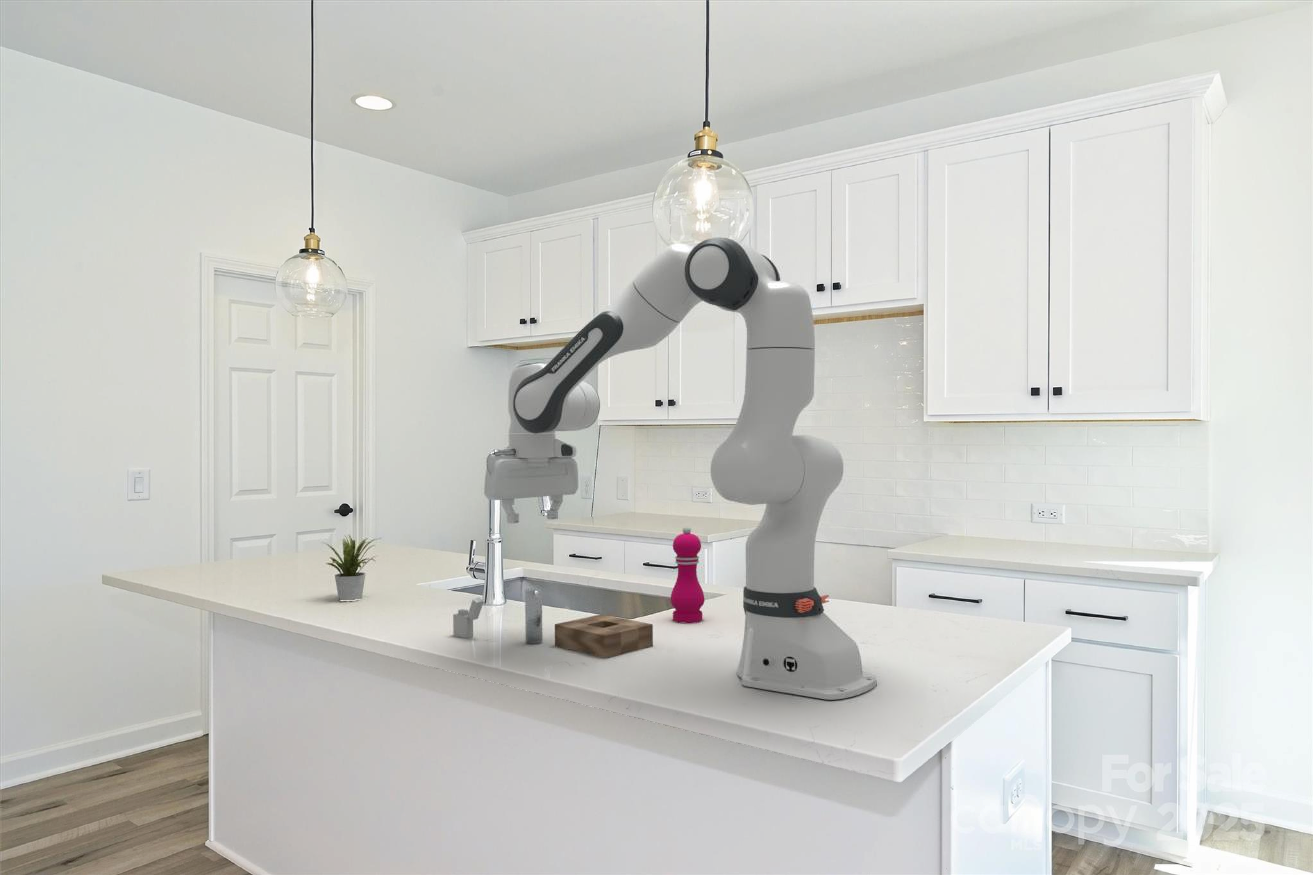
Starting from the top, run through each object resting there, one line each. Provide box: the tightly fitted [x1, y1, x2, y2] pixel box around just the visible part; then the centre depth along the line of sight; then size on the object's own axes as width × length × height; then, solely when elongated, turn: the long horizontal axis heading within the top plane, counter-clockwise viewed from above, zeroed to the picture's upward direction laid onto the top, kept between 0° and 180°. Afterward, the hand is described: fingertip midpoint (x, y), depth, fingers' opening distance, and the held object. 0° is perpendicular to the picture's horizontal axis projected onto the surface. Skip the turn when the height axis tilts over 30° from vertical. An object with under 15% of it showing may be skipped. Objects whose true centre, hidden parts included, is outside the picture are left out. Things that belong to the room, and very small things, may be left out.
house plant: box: [321, 533, 382, 600], centre depth 209 cm, size 14×14×16 cm
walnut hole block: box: [554, 614, 654, 659], centre depth 161 cm, size 14×12×4 cm
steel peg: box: [524, 588, 543, 645], centre depth 164 cm, size 3×3×10 cm
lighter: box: [452, 597, 484, 640], centre depth 169 cm, size 7×2×8 cm, turn 55°
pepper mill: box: [670, 525, 706, 624], centre depth 182 cm, size 7×7×20 cm
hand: (533, 521), depth 164 cm, fingers open, 8 cm apart
